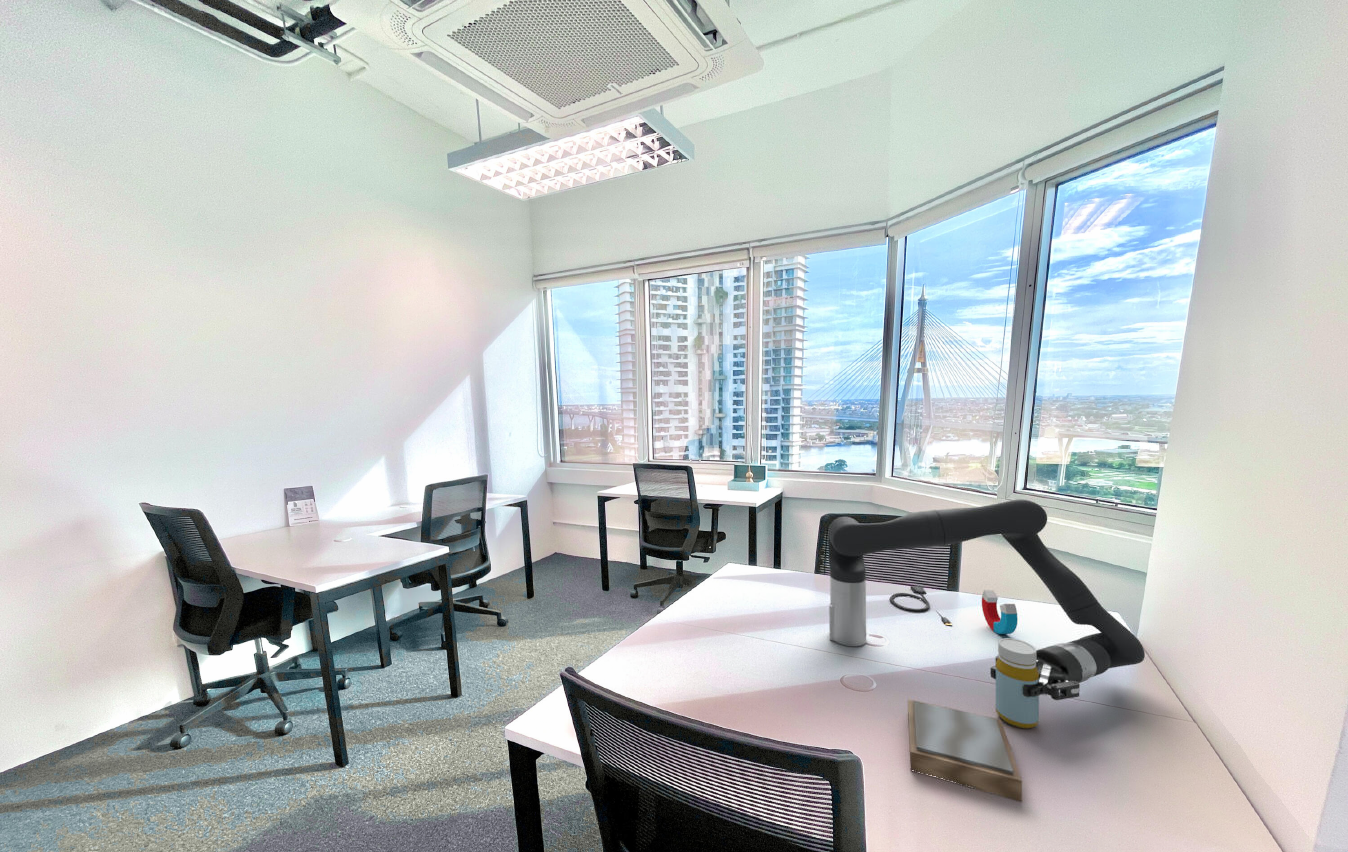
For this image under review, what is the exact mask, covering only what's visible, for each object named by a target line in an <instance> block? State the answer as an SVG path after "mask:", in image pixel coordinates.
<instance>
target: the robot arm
mask: <svg viewBox="0 0 1348 852" xmlns="http://www.w3.org/2000/svg"><path fill="white" fill-rule="evenodd" d="M1047 524H1048V515H1047V512H1046V510H1045V509H1044V507H1043V506H1041V505H1040V504H1038V503H1036V502H1034V501H1031V500H1028V499H1023V498H1021V499H1020V498H1019V499H1012V500H1006V501H1003V502H997V503H993V504H988V505H982V506H976V507H975V506H972V507H957V508H956V507H955V508H946V509H945V508H944V509H932V510H923V511H922V510H921V511H916V512H910V513H907V514H905V515H902V516H899V517H897V518H894V519H892V520H888V521H885V522H877V523H876V522H873V523H859V521H857V520H856V519H854V518H852V517H849V516H839V517H837V518H835V519H834V520H832V522H831V523H830V524H829V527H828V530H827V531H828V532H827V540H828V541H827V547H828V551H827V552H828V565H829V586H830V587H829V591H830V593H829V595H830V596H829V597H830V599H829V600H830V603H829V607H828V613H829V619H828V620H829V621H828V623H829V626H828V627H829V641H833V642H835V643H837V644H839V645H842V646H847V647H860V646H864V645H865V644H866V643H867V575H866V574H867V571H866V566H865V561H864V559H865V558H864V556H865V555H869V554H874V553H878V552H884V551H891V550H906V549H908V550H909V549H918V548H919V549H921V548H933V547H934V548H935V547H944V546H945V547H946V546H951V545H954V544H960V543H963V542H968V541H970V540H974V539H977V538H982V537H987V536H994V535H996V536H997V535H1000V536H1002V537H1003V538H1004V540H1006V542H1007V543H1008V544H1009V545H1010V546H1012V548H1013V549H1014V550H1015V551H1016V552H1017V553H1018V554H1019V556H1021V557H1022V559H1023V560H1024V561H1025V562H1026V563H1027V565H1028V566H1029V567H1030V568H1031V569H1032V570H1033V572H1034V573H1035V574H1036V575H1037V576H1038V577H1039V578H1040V580H1041V581H1042V582H1043V584H1044V585H1045V586H1046V588H1047V589H1048V591H1049V592H1050V594H1051V595H1052V596H1053V598H1054V599H1055V600H1056V602H1057V603H1058V604H1059V606H1060V607H1061V609H1062V610H1063V612H1064V613H1065V614H1066V616H1067V617H1068V619H1069V620H1070V621H1071V622H1073V623H1074V624H1075V625H1079V626H1082V625H1083V626H1085V625H1086V626H1091V627H1094V628H1095V629H1096V630H1098V631H1099V632H1097V633H1093V634H1089V635H1086V636H1085V635H1084V636H1082V637H1080V638H1078V639H1075V640H1072V641H1069V642H1062V643H1057V644H1054V645H1053V644H1052V645H1050V646H1045V647H1042V648H1040V649H1039V648H1038V649H1036V668H1037V670H1038V673H1039V682H1038V683H1036V684H1033V685H1026V684H1025V685H1024V686H1023V695H1024V696H1026V697H1035V696H1038V695H1039V696H1044V697H1045V696H1050V698H1051V699H1053V700H1054V701H1061V700H1066V699H1067V700H1068V699H1072V698H1079V697H1080V692H1081V691H1080V687H1081V686H1080V684H1081V683H1084V682H1086V681H1088V680H1090V679H1091V678H1093V677H1097V676H1099V675H1103V673H1106V672H1107V671H1108V670H1109V669H1114V668H1120V667H1125V666H1132V665H1133V666H1134V665H1138V664H1140V663H1143V661H1144V660H1145V657H1146V656H1145V655H1146V654H1145V649H1144V647H1143V644H1142V643H1141V641H1140V640H1139V639H1138V637H1137V636H1136V635H1135V634H1133V632H1131V631H1130V630H1129V629H1128V628H1127V627H1126V626H1125V625H1123V624H1122V623H1121V622H1120V621H1119V620H1117V618H1115V617H1114V616H1113V615H1112V614H1111V613H1109V612H1108V611H1107V610H1106V609H1105V608H1104V607H1103V606H1102V604H1100V602H1099V601H1098V599H1097V598H1096V597H1095V594H1093V593H1092V591H1091V590H1090V589H1089V587H1088V586H1087V585H1086V584H1085V582H1084V581H1083V580H1082V579H1081V578H1080V577H1079V576H1078V575H1077V574H1076V573H1075V572H1073V570H1071V569H1070V568H1068V566H1067V565H1066V564H1064V563H1063V562H1062V561H1060V560H1059V559H1058V558H1057V557H1056V556H1055V555H1054V554H1053V553H1052V552H1051V551H1050V550H1049V549H1048V547H1047V546H1046V545H1045V544H1044V543H1043V541H1042V539H1041V538H1040V536H1039V533H1040V532H1041V531H1043V529H1044V528H1045V527H1046V525H1047ZM997 659H998V655H996V656H995V662H996V661H997ZM990 677H991V678H992V679H993V680H996V664H995V665H992V666H991V667H990Z"/></svg>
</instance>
